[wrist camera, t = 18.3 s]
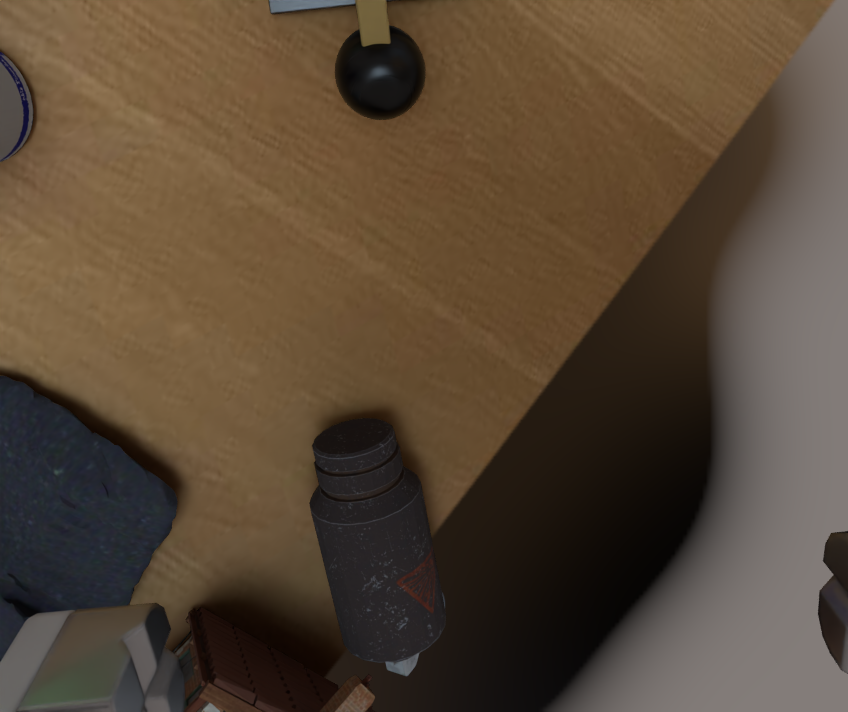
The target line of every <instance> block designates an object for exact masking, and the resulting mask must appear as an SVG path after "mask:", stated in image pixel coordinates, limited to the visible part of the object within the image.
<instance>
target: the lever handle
mask: <svg viewBox="0 0 848 712" xmlns="http://www.w3.org/2000/svg"><path fill="white" fill-rule="evenodd" d="M355 3H356V9H357V16H358V23H359V29H358V30H357V31H355V32H354V33H352V34H351V35H350V36H349V37H348V38H347V39H346V40H345V42H344V43H343V45H342V46H341V48H340V50H339V52H338V55H337V59H336V63H335V79H336V84H337V87H338V90H339V92H340V94H341V96H342V98H343V99H344V101H345V102H346V103H347V105H348V106H349V107H350V108H351V109H353V110H354V111H355V112H357V113H358V114H360V115H362V116H364V117H367V118H370V119H375V120H387V119H392V118H395V117H398V116H400V115H402V114H404V113H405V112H407V111H408V110H409V109H410V108H411V107H412V106H413V105H414V104H415V103H416V101H417V100H418V98H419V97H420V95H421V92H422V90H423V87H424V82H425V63H424V59H423V56H422V53H421V51H420V49H419V47H418V46H417V44H416V43H415V41H414V40H413V39H412V38H411V37H410V36H409V35H408V34H406V33H405V32H404V31H402V30H401V29H399V28H396V27H394V26H390V25H389V21H388V12H387V3H386V0H355Z"/></svg>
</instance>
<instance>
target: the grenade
mask: <svg viewBox="0 0 848 712" xmlns="http://www.w3.org/2000/svg"><path fill="white" fill-rule="evenodd" d="M312 447H313V451H314V456H315V462H314V464H315V468H316V472H317V477H318V481H319V486H318V487H317V489H316V490H315V492H314V493H313V496H312V498H311V500H310V508H311V513H312V517H313V521H314V525H315V529H316V533H317V537H318V541H319V545H320V549H321V553H322V557H323V561H324V565H325V570H326V574H327V578H328V582H329V586H330V590H331V594H332V598H333V602H334V606H335V610H336V614H337V618H338V622H339V626H340V630H341V634H342V638H343V642H344V645H345V646H346V648H347V649H348V650H349V651H350V652H351V653H352V654H353V655H355V656H357V657H359V658H361V659H363V660H367V661H373V662H379V663H380V662H386V667H387V670H389V671H392V672H395V673H398V674H401V675H404V676H408V675H409V673H410V672H411V671H412V670H413V668H414V667H415V666H416V663H417V659H418V655H419V653H420V652H421V651H423V650H425V649H427V648H428V647H429V646H430V645H431V644H432V643H433V642H435V641H436V640H437V639H438V638H439V636H440V634H441V632H442V631H443V629H444V627H445V619H446V613H445V599H444V596H443V593H442V591H441V587H440V581H439V576H438V571H437V566H436V560H435V555H434V550H433V545H432V539H431V534H430V529H429V523H428V518H427V513H426V507H425V502H424V497H423V492H422V486H421V482H420V480H419V478H418V476H417V474H415V473H414V472H412V471H411V470H409V469H408V468H406V467H404V466H403V462H402V457H401V452H400V447H399V445H398V443H397V442H396V437H395V432H394V429H393V427H392V425H390V424H388V423H387V422H385V421H383V420H379V419H373V418H362V419H353V420H349V421H345V422H341V423H339V424H336V425H334V426H331V427H329V428H328V429H326V430H324V431H323V432H322V433H321V434H320V435H318V436H317V437H316V439H315V440H314V443H313V445H312Z"/></svg>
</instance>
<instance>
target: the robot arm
mask: <svg viewBox="0 0 848 712" xmlns="http://www.w3.org/2000/svg"><path fill="white" fill-rule="evenodd" d="M823 562H824V563H825V564H826V565H827V567H828V568H829V569H830V571H831V572H832V573H833V574H834V575H833V576H832V578H831V579H830V580H829V581H828V582H827V583H826V584H825V585H824V587H823V588H822V589H821V590H820V593H819V606H818V616H819V621H820V626H821V631H822V636H823V638H824V641H825V643H826V645H827V647H828V649H829V652H830V654H831V655H832V657H833V658H834V660H835V661H836V663H837V664H838V666H839V667H840V669H841V670H842V671H844V672H845V673H847V674H848V531H845V532H837V533H831V534H830V536H829V538H828V540H827V542H826V544H825V551H824V558H823ZM170 630H171V628H170V625H169V622H168V618H167V615H166V612H165V609H164V607H162V606H161V605H159V604H158V603H149V604H136V605H124V606H112V607H100V608H87V609H77V610H76V611H75V610H68V611H57V612H47V613H37V614H35V615H34V616H32V617H30V618H28V619H27V620H26V621H25V623H24V624H23V626H22V628H21V629H20V631H19V632H18V634H17V636H16V637H15V639H14V640H13V642H12V644H11V645H10V647H9V649H8V650H7V652H6V653H5V655H4V657H3V658H2V660H1V661H0V712H184V703H185V685H184V676H183V671H182V667H181V663H180V659H179V657H178V656H176V655H175V654H174V653H173V652H171V651H170V650H169V649H168V648H166V647H165V644H166V642H167V639H168V636H169V633H170Z"/></svg>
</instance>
